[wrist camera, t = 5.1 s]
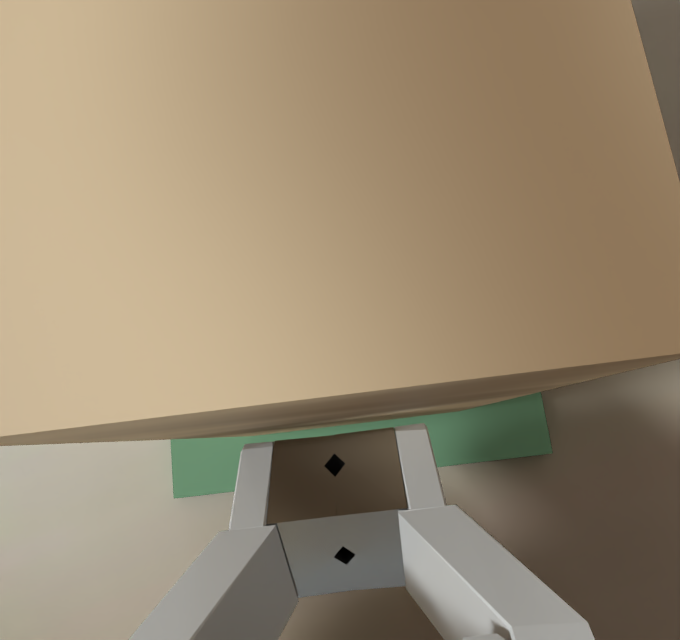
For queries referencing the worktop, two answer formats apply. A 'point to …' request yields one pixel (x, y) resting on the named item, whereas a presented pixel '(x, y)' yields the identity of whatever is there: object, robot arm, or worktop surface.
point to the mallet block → (323, 211)
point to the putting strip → (444, 429)
